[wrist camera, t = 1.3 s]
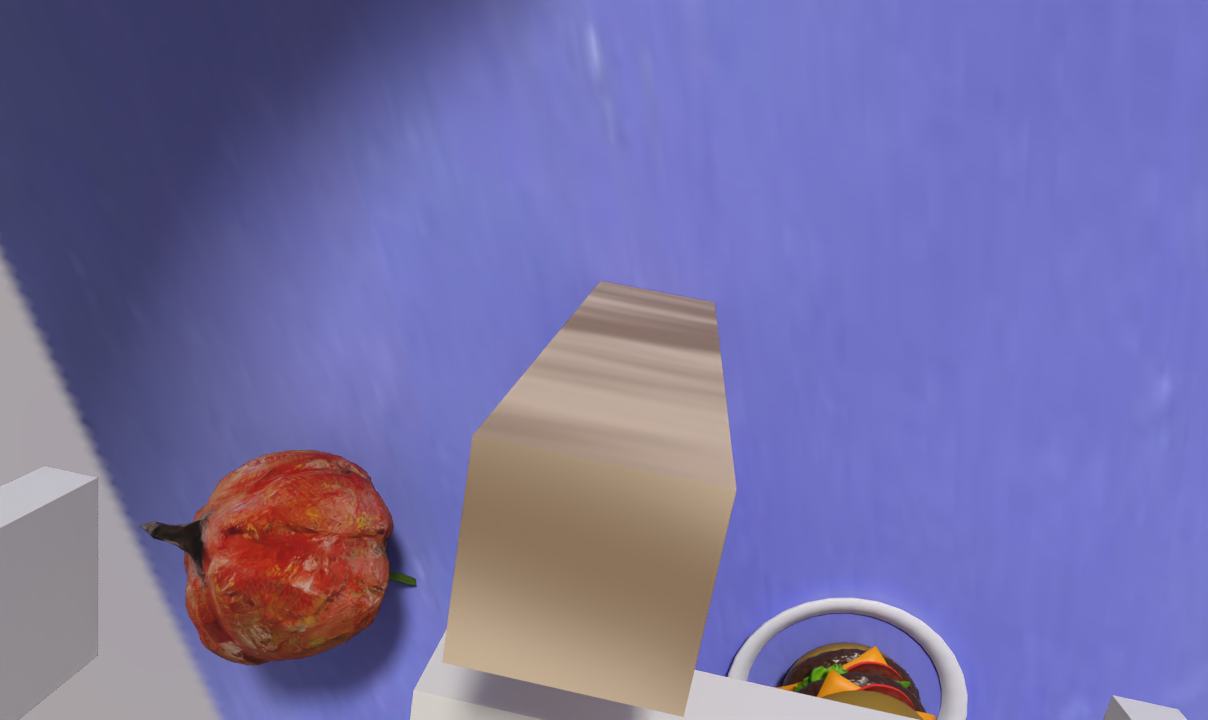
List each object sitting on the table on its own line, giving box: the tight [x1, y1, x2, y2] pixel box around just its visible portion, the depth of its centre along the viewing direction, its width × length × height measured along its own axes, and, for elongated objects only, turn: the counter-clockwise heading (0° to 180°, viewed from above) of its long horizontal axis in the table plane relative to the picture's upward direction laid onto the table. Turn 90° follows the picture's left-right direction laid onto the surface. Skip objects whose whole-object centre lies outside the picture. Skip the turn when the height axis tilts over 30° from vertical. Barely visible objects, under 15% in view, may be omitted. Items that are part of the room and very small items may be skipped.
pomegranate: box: [140, 450, 416, 665], centre depth 27 cm, size 7×7×10 cm
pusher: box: [442, 281, 737, 717], centre depth 22 cm, size 18×4×16 cm, turn 170°
